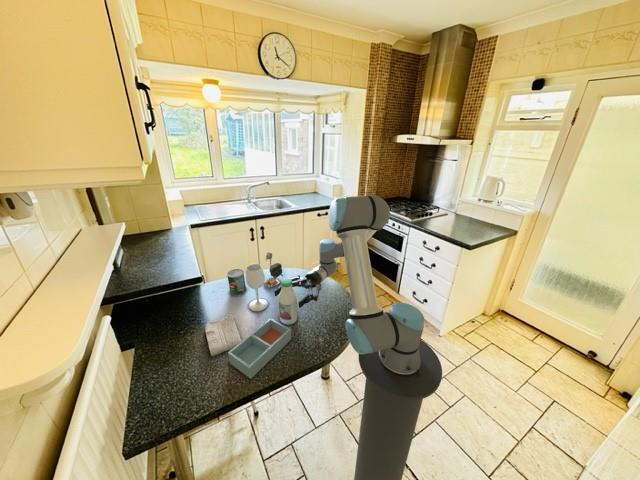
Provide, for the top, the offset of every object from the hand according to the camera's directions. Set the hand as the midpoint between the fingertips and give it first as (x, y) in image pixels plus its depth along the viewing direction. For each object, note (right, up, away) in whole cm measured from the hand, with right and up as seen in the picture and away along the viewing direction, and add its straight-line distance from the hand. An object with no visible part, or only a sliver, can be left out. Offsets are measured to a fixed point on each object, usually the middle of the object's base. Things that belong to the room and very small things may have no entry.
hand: (286, 299), depth 109 cm
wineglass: (-15, -6, +13) cm, 21 cm away
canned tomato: (-28, -1, +23) cm, 37 cm away
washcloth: (-25, -14, -5) cm, 29 cm away
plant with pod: (-11, +2, +30) cm, 32 cm away
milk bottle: (0, -10, +5) cm, 11 cm away
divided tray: (-8, -17, -11) cm, 22 cm away
